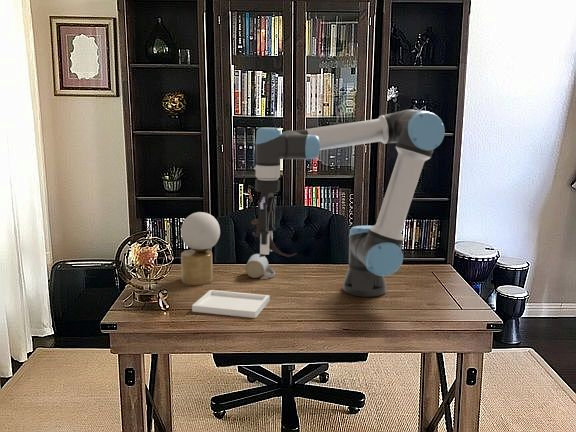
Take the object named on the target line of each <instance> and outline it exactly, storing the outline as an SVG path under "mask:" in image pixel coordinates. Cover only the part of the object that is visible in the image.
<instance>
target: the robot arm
mask: <svg viewBox="0 0 576 432" xmlns="http://www.w3.org/2000/svg"><path fill="white" fill-rule="evenodd" d="M445 131H446V129H445V125H444V123H443V120H442V118H440V117H439V116H438V115H437V114H435V113H434V112H430V111H428V110H418V109H412V108H411V109H404V110H401V111H396V112H392V113H387V114H381V115H379V116H378V118H375V119H367V120H362V121H354V122H353V121H352V122H348V123H340V124H332V125H325V126H319V127H312V128H306V129H298V130H292V129H290V130H286V131H283V132H282V131H281V129H280V128H279V127H259V128H258V129H257V130H256V134H255V135H256V137H255V166H254V168H253V169H254V171H255V177H256V178H255V183H254V185H255V188H254V190H255V191H256V192H258V193H260V197H259V201H258V202H257V209H258V210H257V216H258V217H257V219H258V234H260V239H259V242H260V243H259V253H260V254H262V255H263V254H265V256H266V255H270V252H273V250H271V249H269V235H270V237H271V239H272V241H273V238H274V236H273V235H274V233H273V231H276V227H275V226H276V223H275V222H276V203H277V196H276V195H275V193H278V192H279V191H280V187H281V185H280V184H281V180H280V179H279V178H280V177H281V160H306V161H308V160H316V159H318V157H319V155H320V151H322V150H323V151H324V150H331V149H332V150H333V149H336V148H337V149H338V148H346V147H351V146H359V145H364V144H371V143H372V144H373V143H378V142H380V143H382V144H384V145H386V144H395V145H396V146H395V149H396V151H397V156H396V157H397V158H396V160H395V164H394V165H393V166H394V167H393V170H392V173H391V176H390V179H389V182H388V185H387V188H386V192H385V194H384V198H383V200H382V203H381V207H380V210H379V214H378V216H377V219H376V223H375V224H374V225H356V226H352V227H351V228H350V229H349V235H348V238H349V239H348V241H349V244H348V269H347V271H346V274H345V277H344V280H343V282H342V290H343V292H345V293H346V294H348V295H351V296H355V297H364V298H365V297H367V298H368V297H371V298H372V297H378V296H383V295H384V294H386V293H387V283H386V279H385V277H387V276H391V275H393V274H395V273H396V272H398V270H399V269H400V268H401V266H402V265H403V261H404V255H403V251H402V247H403V244H404V241H405V238H404V236H403V234H402V231H403V229H404V228H403V227H404V224H405V221H406V219H407V216H408V213H409V210H410V207H411V203H412V201H413V198H414V194H415V191H416V188H417V186H418V182H419V179H420V176H421V173H422V170H423V168H424V165H425V162H426V161H428V160H430V159H431V158H432V155H433V153H434V150H435V149H436V148H438V147H439V146H440V145H441V144H442V143H443V140H444V138H445V133H446V132H445ZM274 195H275V196H274ZM273 242H274V241H273Z"/></svg>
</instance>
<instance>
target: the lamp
mask: <svg viewBox="0 0 576 432" xmlns="http://www.w3.org/2000/svg"><path fill="white" fill-rule="evenodd" d="M220 227H221V226H220V224H219V221H218V220H217V219H216V218H215V216H213V215H212V214H210V213H208V212H202V211H197V212H193V213H191V214H190V215H188V216H187V217H186V218H185V219H184V220H183V222H182V224H181V227H180V237H181V239H182V241H183V243H184V245H186V246H187V247H188V248H189V249H187V250H184V251H182V252H181V253H180V263H181V265H180V268H181V269H180V271H181V282H182V283H183V284H184V285H187V286H203V285H208V284H210V283H212V282H213V275H214V273H213V270H214V269H213V252H212V251H211V249H212V248H213V247H214V246H215V245H216V244H217V243H218V242H219V239H220V236H221V228H220Z"/></svg>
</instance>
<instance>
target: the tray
mask: <svg viewBox="0 0 576 432" xmlns="http://www.w3.org/2000/svg"><path fill="white" fill-rule="evenodd" d="M270 296H271V295H269V294H259V293H249V292H248V293H247V292H235V291H227V290H217V289H210V290H208V291H207V292H206V293H205V294H203V296H201V297H200V298H199V299H198V300H197V301H195V302H194V303H192V305H191V312H193V313H202V314H203V313H205V314H213V315H222V316H223V315H224V316H230V317H231V316H232V317H242V318H253V319H256V318H257V317H258V315H259V314H260V313H261V312H262V311H263V310H264V308H266V306H267V305H268V304H269V302H270Z"/></svg>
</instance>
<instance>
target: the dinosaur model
mask: <svg viewBox="0 0 576 432" xmlns="http://www.w3.org/2000/svg"><path fill="white" fill-rule="evenodd" d="M251 225H253V226H254V225H255V227H256V232H255V231H253V232H252V236H255V237H257V238H259V240H260V234H258V218H255V219H254V220H252V221H251ZM269 249H271V250H272V252H274V253H276V254H278V255H280V256H283V257H288V258H289V257H293V256H296V255H297V254H298V253H297V252H295V253H292V254H286V253H284V252H282V251H281V250H279V248H278V247H277V246H276V244H275V243H274V241H272V239H271V237H270V235H269ZM258 254H260V252H259V253H258ZM264 256H265V257H266V255H265V254H260V256H259V257H264Z"/></svg>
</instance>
